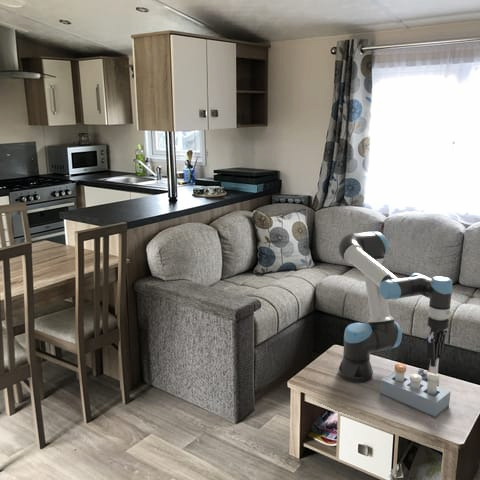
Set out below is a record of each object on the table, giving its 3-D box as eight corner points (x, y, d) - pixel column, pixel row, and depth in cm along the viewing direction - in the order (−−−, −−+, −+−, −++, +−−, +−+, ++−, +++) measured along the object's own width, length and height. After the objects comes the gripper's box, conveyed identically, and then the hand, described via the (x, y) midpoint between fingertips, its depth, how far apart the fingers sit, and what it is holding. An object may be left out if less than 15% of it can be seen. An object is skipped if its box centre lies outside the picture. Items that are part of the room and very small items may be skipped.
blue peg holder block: (380, 394, 211) (381, 379, 210) (395, 384, 219) (396, 370, 218) (435, 418, 194) (436, 402, 193) (448, 406, 202) (450, 391, 201)
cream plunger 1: (406, 395, 207) (407, 376, 204) (411, 391, 210) (413, 372, 208) (416, 400, 203) (418, 380, 201) (422, 395, 206) (424, 376, 204)
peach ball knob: (391, 385, 211) (392, 366, 209) (396, 381, 214) (398, 362, 212) (401, 389, 208) (402, 370, 206) (406, 385, 211) (408, 366, 209)
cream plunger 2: (423, 394, 201) (424, 374, 199) (428, 390, 204) (430, 370, 202) (434, 399, 197) (436, 378, 195) (439, 394, 201) (441, 374, 198)
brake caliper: (445, 391, 209) (428, 367, 209) (421, 401, 214) (405, 378, 214) (445, 378, 220) (429, 356, 220) (422, 388, 224) (407, 366, 224)
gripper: (440, 324, 186) (434, 382, 191) (455, 315, 194) (450, 370, 200) (421, 318, 191) (416, 375, 197) (437, 309, 200) (432, 364, 205)
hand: (433, 372), depth 198 cm, fingers closed
